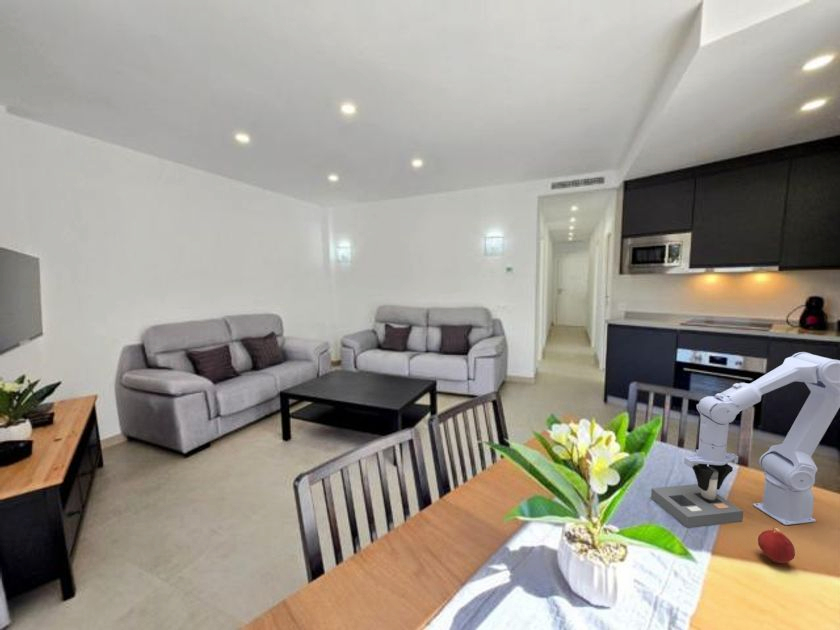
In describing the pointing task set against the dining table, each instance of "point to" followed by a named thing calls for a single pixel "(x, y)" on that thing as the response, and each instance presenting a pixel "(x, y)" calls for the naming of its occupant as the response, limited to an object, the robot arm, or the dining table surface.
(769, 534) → the red rounded oval piece
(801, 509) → the robot arm
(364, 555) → the dining table surface
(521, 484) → the dining table surface
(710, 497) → the plug
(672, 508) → the socket panel
